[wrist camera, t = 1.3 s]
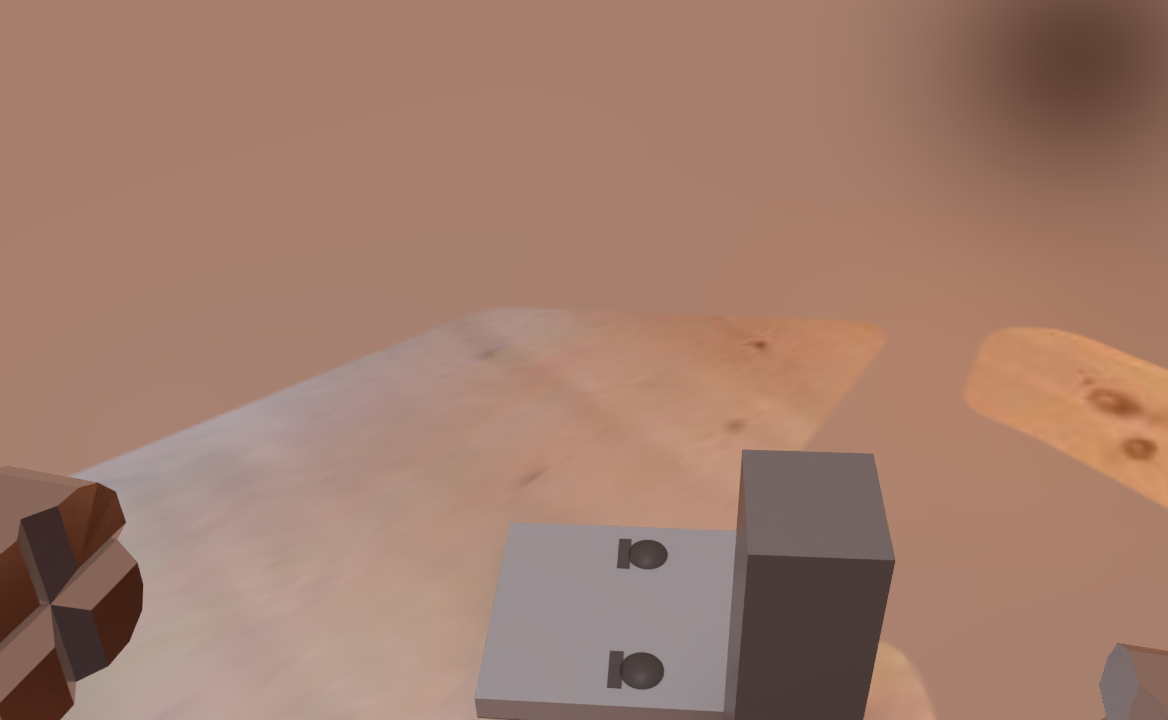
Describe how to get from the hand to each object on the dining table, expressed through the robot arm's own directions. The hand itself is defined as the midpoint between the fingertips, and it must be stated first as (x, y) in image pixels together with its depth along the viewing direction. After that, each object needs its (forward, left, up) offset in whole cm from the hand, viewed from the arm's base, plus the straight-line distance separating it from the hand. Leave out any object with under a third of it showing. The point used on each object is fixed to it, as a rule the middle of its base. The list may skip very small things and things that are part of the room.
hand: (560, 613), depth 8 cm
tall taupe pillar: (+5, +20, -37) cm, 43 cm away
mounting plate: (-1, +31, -37) cm, 49 cm away
